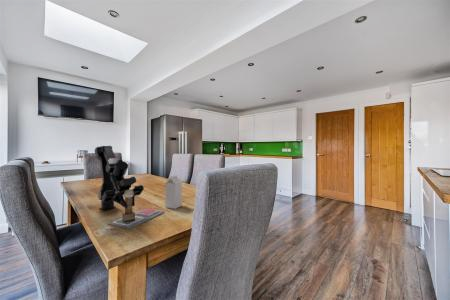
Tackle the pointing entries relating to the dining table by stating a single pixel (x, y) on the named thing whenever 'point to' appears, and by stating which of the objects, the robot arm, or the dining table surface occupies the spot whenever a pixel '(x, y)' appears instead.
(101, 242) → the dining table surface
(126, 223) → the stamping board
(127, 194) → the walnut stamp
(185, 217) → the dining table surface
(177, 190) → the milk carton
